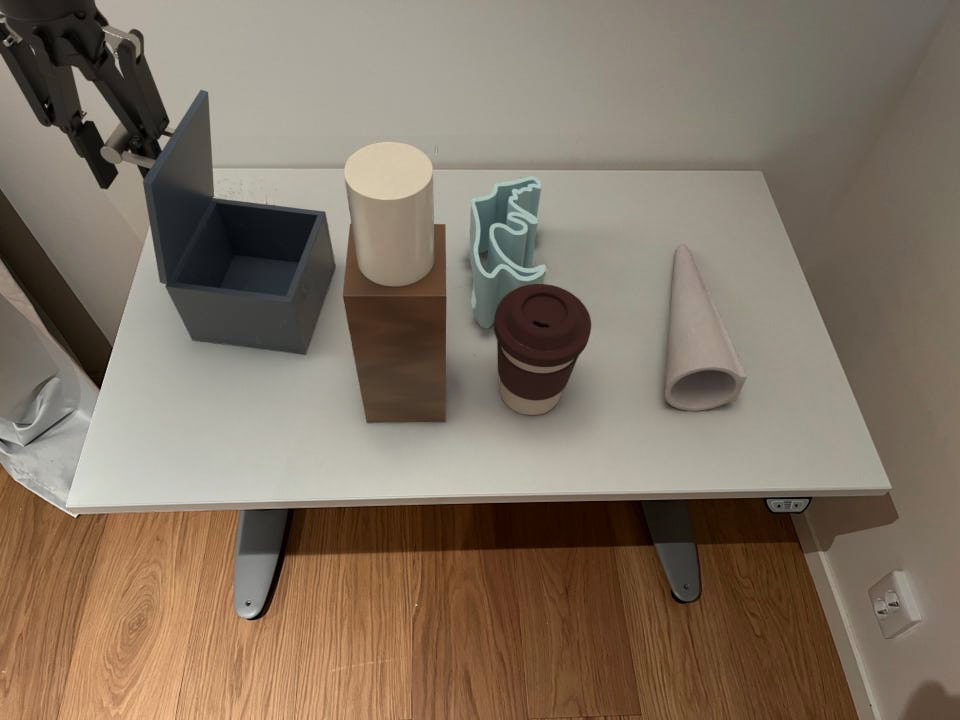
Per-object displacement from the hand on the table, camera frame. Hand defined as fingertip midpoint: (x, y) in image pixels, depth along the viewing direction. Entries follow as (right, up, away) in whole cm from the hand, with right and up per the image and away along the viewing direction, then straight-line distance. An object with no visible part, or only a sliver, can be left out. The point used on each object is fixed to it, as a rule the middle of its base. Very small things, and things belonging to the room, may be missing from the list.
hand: (134, 183), depth 73 cm
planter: (+62, -14, +15) cm, 65 cm away
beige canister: (+29, -10, -11) cm, 33 cm away
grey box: (+10, -11, +14) cm, 20 cm away
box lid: (+6, -1, 0) cm, 6 cm away
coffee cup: (+43, -23, +8) cm, 49 cm away
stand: (+28, -22, +7) cm, 37 cm away
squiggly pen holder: (+40, -8, +18) cm, 45 cm away
